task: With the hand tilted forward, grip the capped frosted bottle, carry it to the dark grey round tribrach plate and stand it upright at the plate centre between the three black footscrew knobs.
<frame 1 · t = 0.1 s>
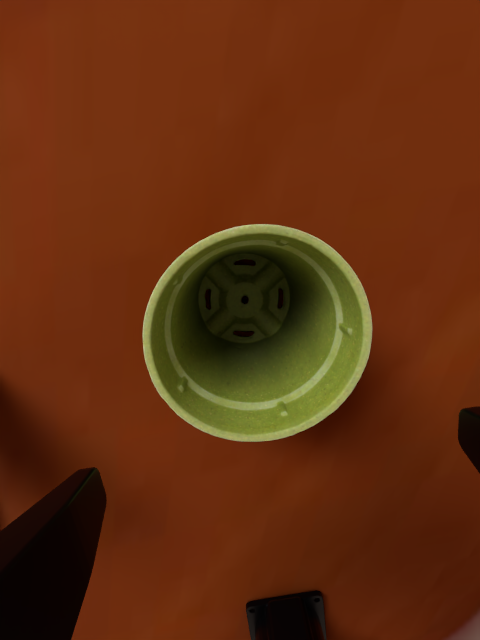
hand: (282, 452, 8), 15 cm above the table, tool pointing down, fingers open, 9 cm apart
plant pot: (244, 299, 23), on the table
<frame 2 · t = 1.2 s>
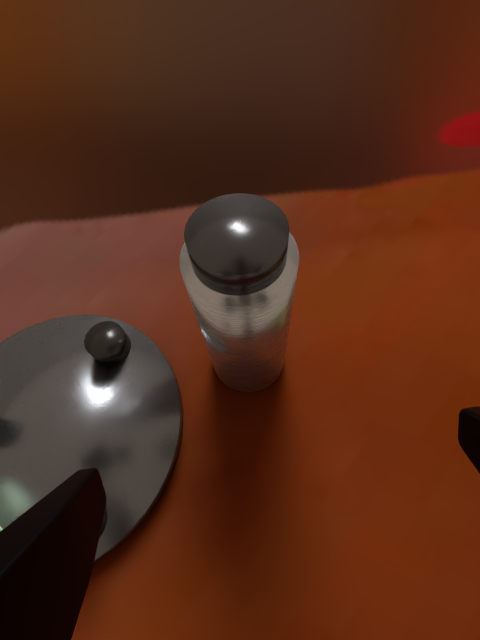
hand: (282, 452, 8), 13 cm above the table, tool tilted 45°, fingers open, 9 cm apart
tribrach plate: (60, 429, 22), on the table
capped frosted bottle: (248, 357, 24), on the table
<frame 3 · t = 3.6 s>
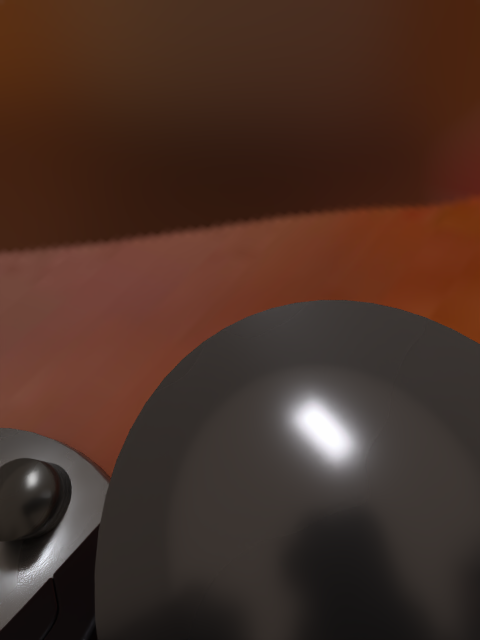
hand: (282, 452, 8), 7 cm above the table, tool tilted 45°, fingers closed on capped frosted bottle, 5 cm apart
capped frosted bottle: (280, 513, 13), on the table, touching gripper
when the fingers open (8 cm above the table, at t = 7.0 s): capped frosted bottle stays where it is, resting on tribrach plate.
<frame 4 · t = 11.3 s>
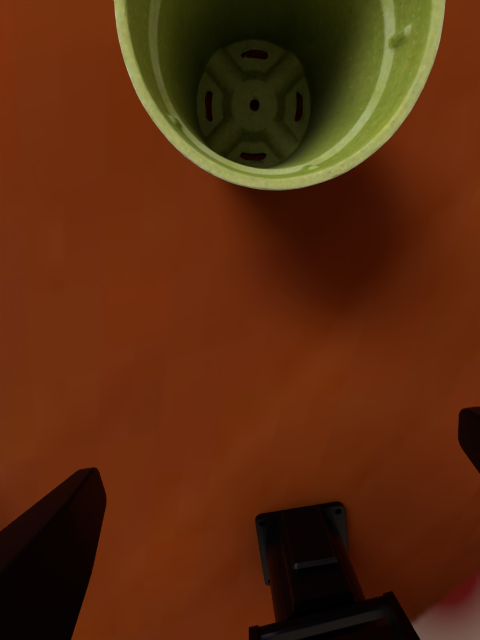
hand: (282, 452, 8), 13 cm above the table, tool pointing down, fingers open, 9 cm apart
plant pot: (253, 112, 18), on the table
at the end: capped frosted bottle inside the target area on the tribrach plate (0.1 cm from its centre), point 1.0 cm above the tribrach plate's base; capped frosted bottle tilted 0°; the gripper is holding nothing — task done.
